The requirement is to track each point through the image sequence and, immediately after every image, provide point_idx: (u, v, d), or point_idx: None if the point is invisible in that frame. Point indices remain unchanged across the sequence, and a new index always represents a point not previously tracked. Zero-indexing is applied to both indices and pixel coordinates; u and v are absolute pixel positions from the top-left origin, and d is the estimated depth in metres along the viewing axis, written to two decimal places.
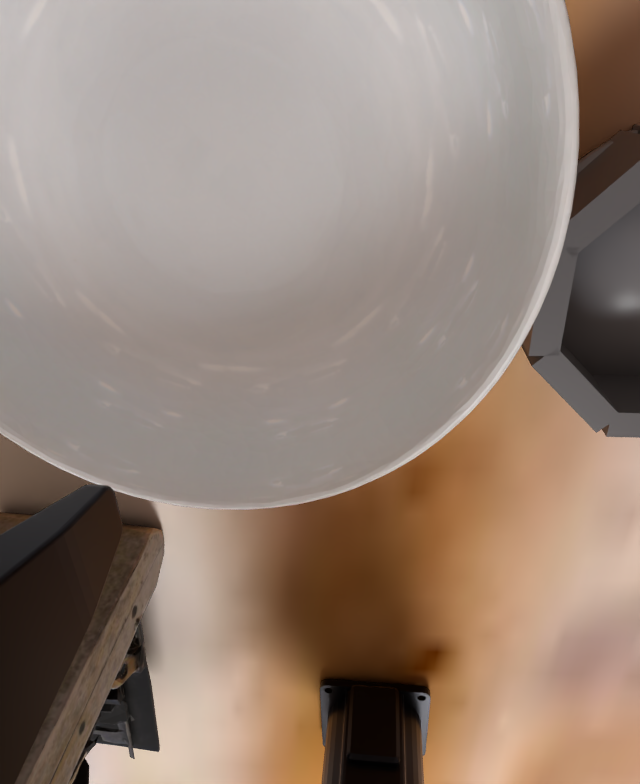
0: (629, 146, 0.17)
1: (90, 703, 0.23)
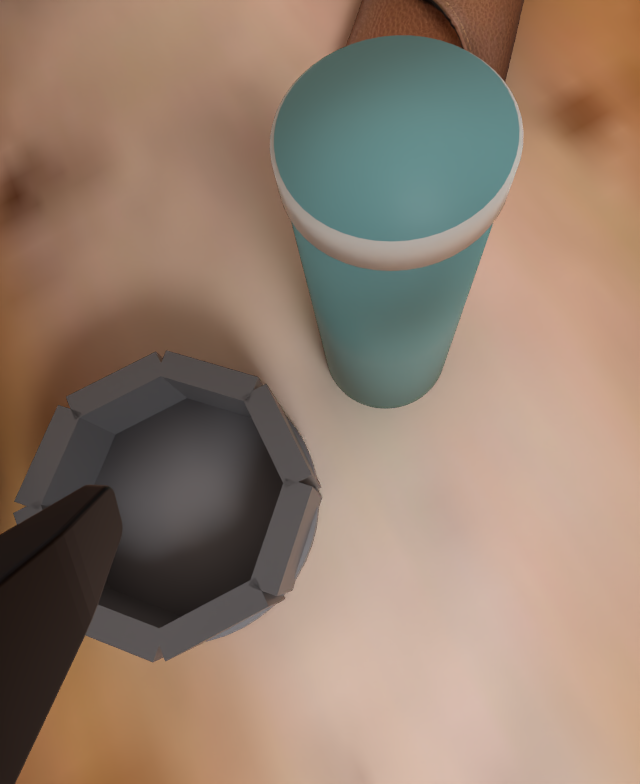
0: None
1: None
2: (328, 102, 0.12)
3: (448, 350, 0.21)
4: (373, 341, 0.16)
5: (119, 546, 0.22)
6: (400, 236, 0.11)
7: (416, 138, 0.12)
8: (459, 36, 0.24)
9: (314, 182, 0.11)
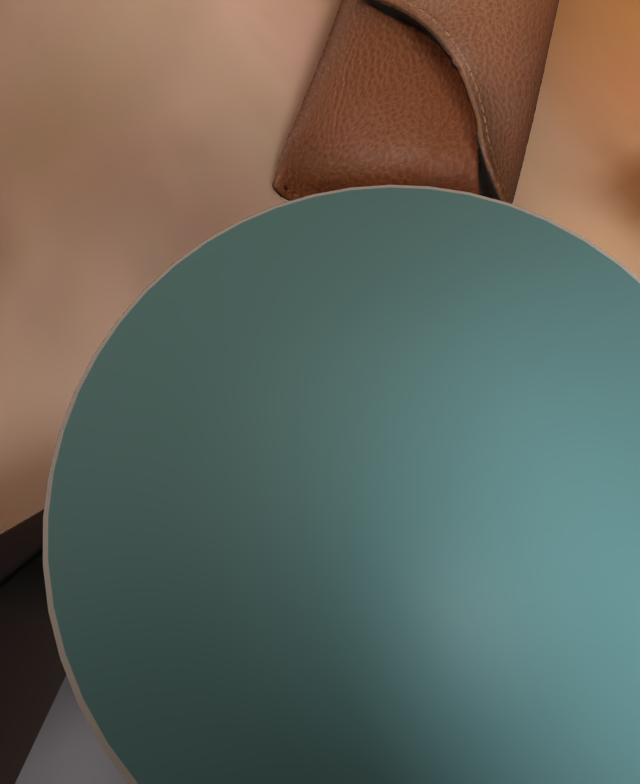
0: None
1: None
2: (206, 380, 0.04)
3: None
4: None
5: None
6: None
7: (450, 516, 0.04)
8: (464, 82, 0.16)
9: (148, 653, 0.04)
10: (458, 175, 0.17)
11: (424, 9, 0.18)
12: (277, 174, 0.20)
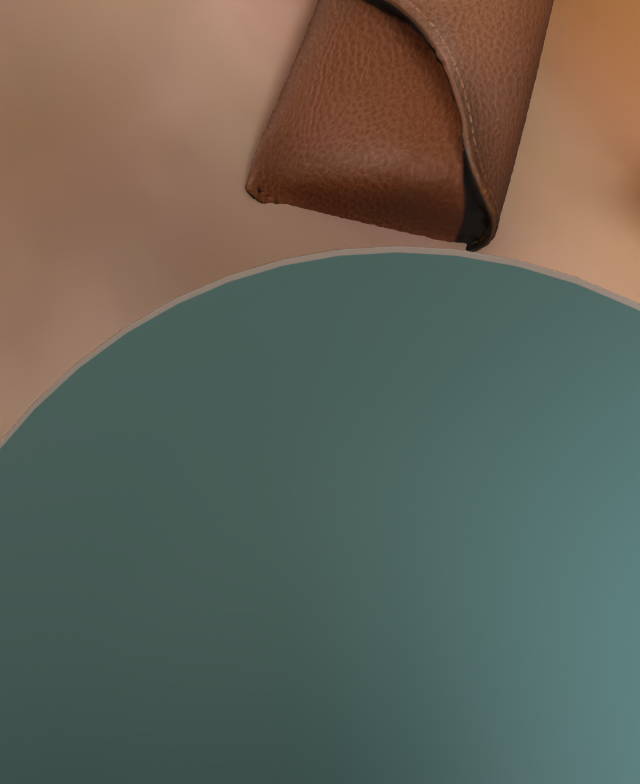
0: None
1: None
2: (115, 557, 0.03)
3: None
4: None
5: None
6: None
7: None
8: (448, 78, 0.15)
9: None
10: (442, 180, 0.16)
11: None
12: (250, 175, 0.19)
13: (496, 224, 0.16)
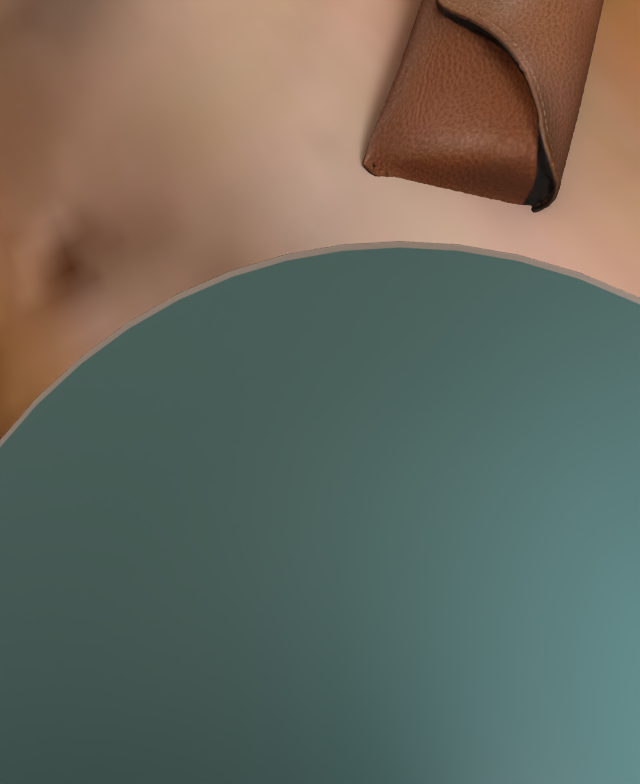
0: None
1: None
2: (118, 551, 0.03)
3: None
4: None
5: None
6: None
7: None
8: (528, 83, 0.21)
9: None
10: (521, 157, 0.22)
11: (495, 23, 0.22)
12: (367, 154, 0.25)
13: (558, 189, 0.22)
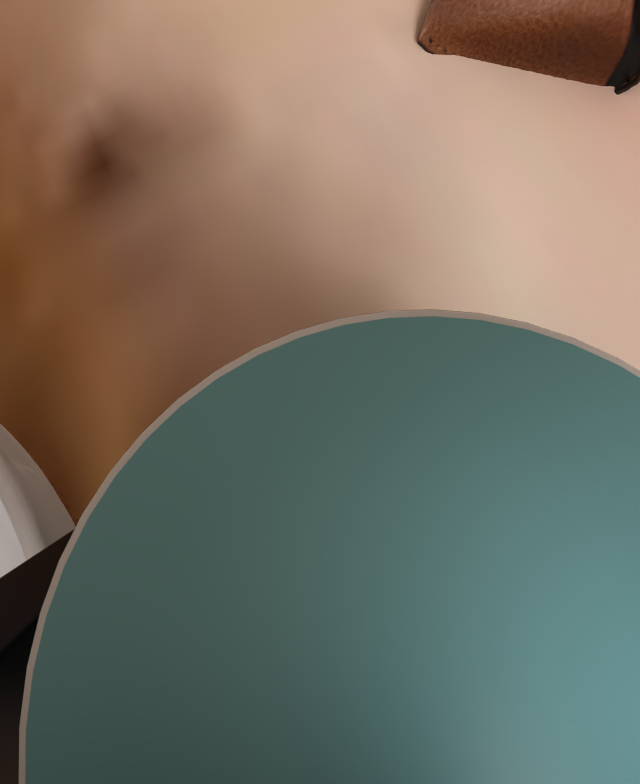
0: None
1: None
2: (218, 555, 0.04)
3: None
4: None
5: None
6: None
7: (515, 746, 0.03)
8: None
9: None
10: (612, 13, 0.18)
11: None
12: (423, 28, 0.21)
13: None
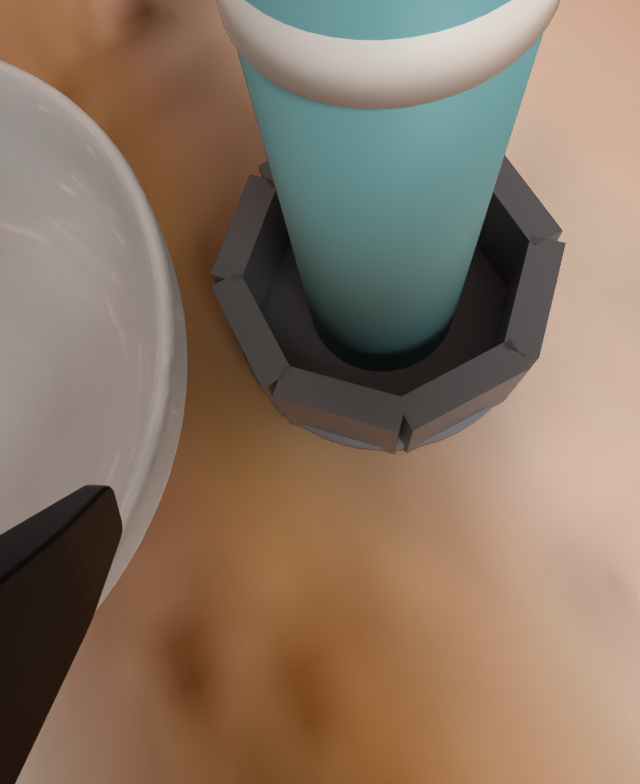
0: None
1: None
2: None
3: (460, 293, 0.17)
4: (363, 261, 0.12)
5: (308, 350, 0.20)
6: (398, 29, 0.07)
7: None
8: None
9: None
10: None
11: None
12: None
13: None
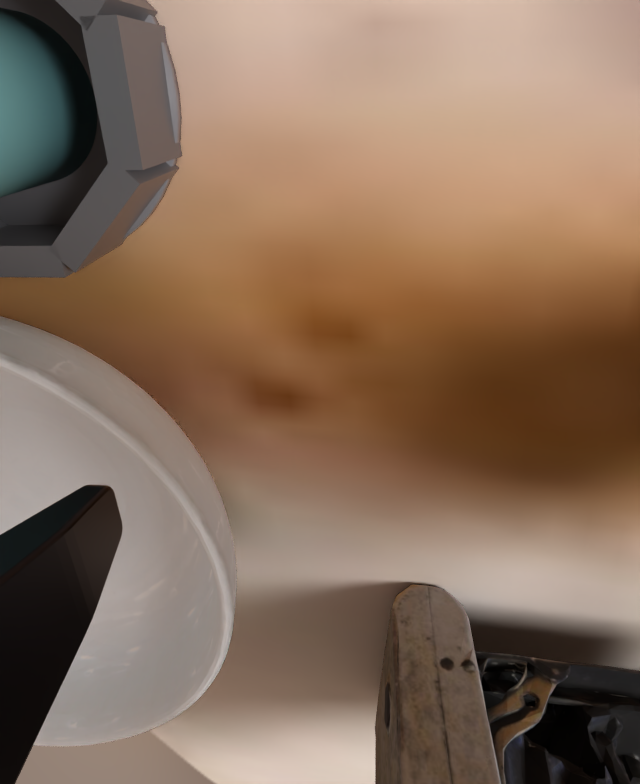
0: None
1: (460, 778, 0.20)
2: None
3: (16, 38, 0.15)
4: None
5: (53, 199, 0.20)
6: None
7: None
8: None
9: None
10: None
11: None
12: None
13: None
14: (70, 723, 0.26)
